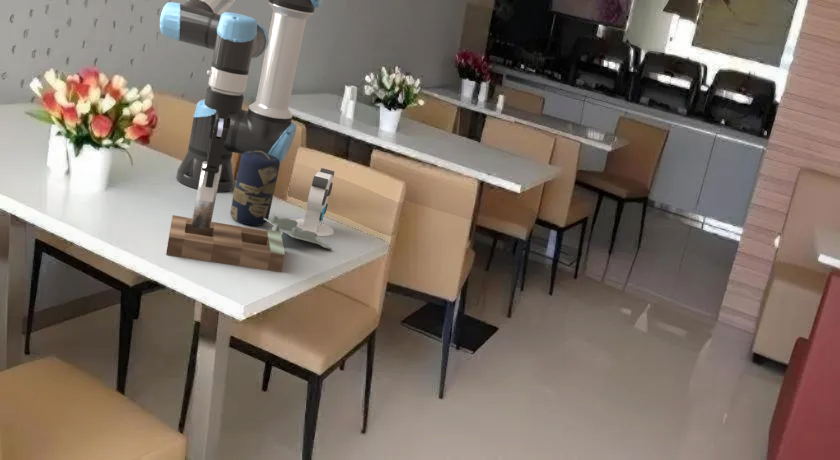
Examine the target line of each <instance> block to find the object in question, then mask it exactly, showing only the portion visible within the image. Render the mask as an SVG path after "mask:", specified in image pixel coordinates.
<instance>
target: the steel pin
mask: <svg viewBox="0 0 840 460" xmlns="http://www.w3.org/2000/svg"><path fill="white" fill-rule="evenodd" d="M206 166H207V161H204V162H203V163H202V168H205V167H206ZM202 168H201V174H200V179H199V185H198V189H197V191H196V196H195V200H194V207H193V214H192V217H191V218H192V223H191V225H192V226H193V227H195V228H198V229H209V228H210V226H211V222H213V221H212V220H213V216H214V215H213V214H214V209H215V204H216V199H217V193H218V192H217V189H218V184H219V178H220V173H221V168H222V165H220V166H219V172H218V176H217V181H216V186H215V192H214V197H213V202H208V201H203V200H199V199H200V193H201V188H202V183H203V177H204V172H205V171H202Z"/></svg>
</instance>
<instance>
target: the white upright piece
mask: <svg viewBox="0 0 840 460" xmlns="http://www.w3.org/2000/svg"><path fill="white" fill-rule="evenodd" d="M334 176H335V171H334V170H331V169H326V168H323V167H320V170H319V171H317V172H316V173H315V175H314V176H313V179H312V182H311V185H310V189H309V193H308V197H307V202H306V203H307V204H306V211H305V217H304V218H296V219H295V218H294V220H295V221H296V222H297V227H299V228H301V229H302V230H307V231H311V232H314V233H316V234H317V237H319V236H327V237H330V236H329V235H331V236H332V234H333V235H334V232H335V231H334V229H333V228H332V227H331V226H329V225H328V224H324V223H323V220H324V217H325V216H324V215H326V212H327V210H328V205H329V203H328V201H329V197H330V196H331V193H332V189H333V185H334V184H333V178H334Z"/></svg>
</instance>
